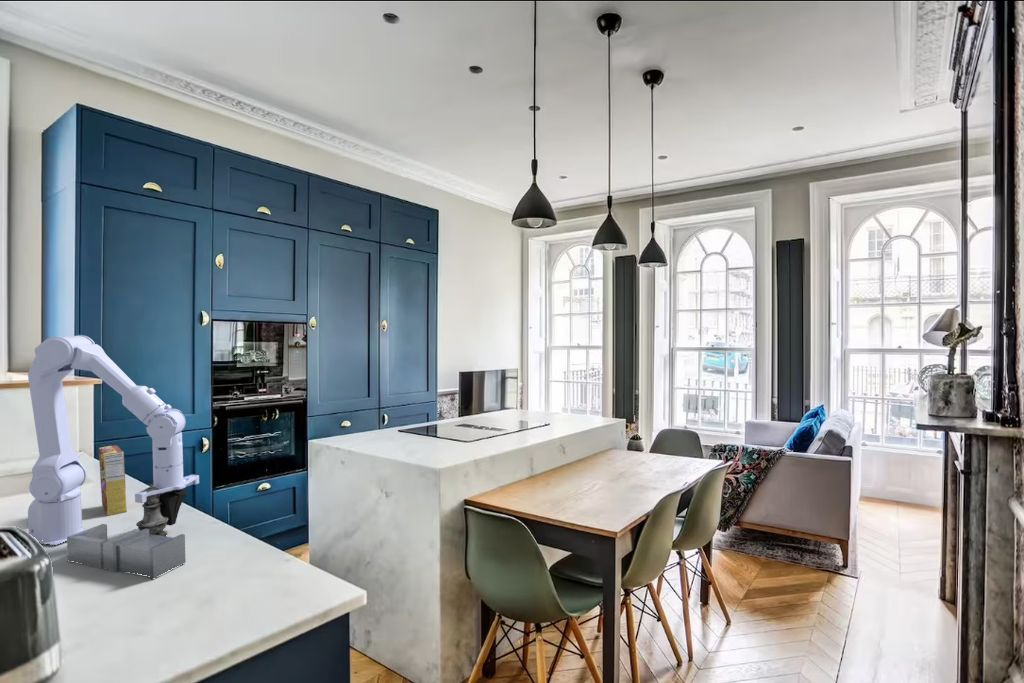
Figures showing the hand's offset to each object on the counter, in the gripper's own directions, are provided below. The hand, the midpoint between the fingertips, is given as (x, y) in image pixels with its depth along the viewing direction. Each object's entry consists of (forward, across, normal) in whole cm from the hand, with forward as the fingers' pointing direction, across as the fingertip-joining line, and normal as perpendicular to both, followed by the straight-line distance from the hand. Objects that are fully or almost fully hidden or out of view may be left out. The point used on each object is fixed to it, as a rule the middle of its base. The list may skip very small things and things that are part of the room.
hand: (169, 524), depth 124 cm
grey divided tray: (+1, -15, -6) cm, 16 cm away
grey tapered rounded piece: (+2, -4, 0) cm, 4 cm away
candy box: (+2, +6, +25) cm, 26 cm away
